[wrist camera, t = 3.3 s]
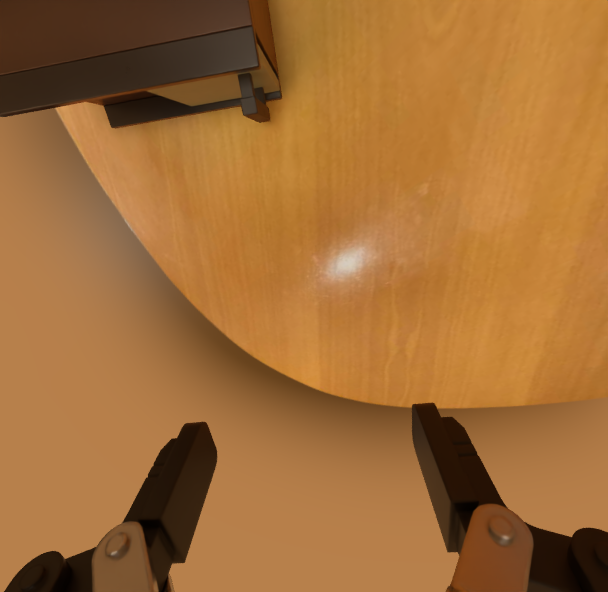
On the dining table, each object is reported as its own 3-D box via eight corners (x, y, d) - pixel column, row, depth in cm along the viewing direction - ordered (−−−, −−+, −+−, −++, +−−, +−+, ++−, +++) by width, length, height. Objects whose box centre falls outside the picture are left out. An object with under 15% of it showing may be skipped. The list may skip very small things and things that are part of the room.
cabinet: (282, 99, 29) (259, 66, 17) (115, 128, 30) (-7, 116, 19) (260, -48, 25) (212, -217, 13) (69, -6, 26) (-123, -125, 15)
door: (284, 120, 28) (268, 107, 19) (198, 135, 29) (142, 129, 20) (278, 79, 27) (258, 43, 18) (188, 96, 28) (123, 69, 18)
